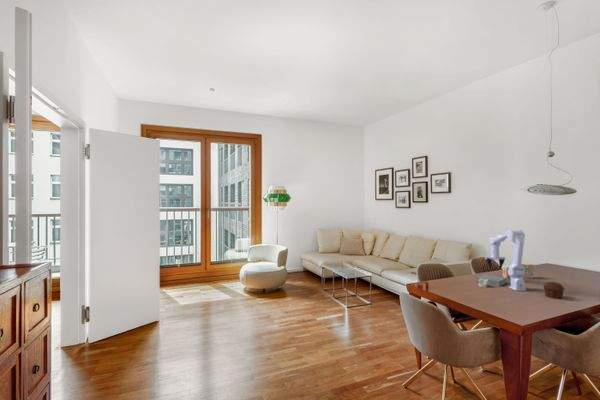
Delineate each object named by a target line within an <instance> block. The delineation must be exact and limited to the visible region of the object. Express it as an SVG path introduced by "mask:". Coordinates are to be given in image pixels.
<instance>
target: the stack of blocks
mask: <svg viewBox="0 0 600 400" xmlns="http://www.w3.org/2000/svg"><path fill="white" fill-rule="evenodd" d="M521 265H522V266H524V267H525V275H524V276H523V277H522V279H526V278H531V279H534V264H532V263H529V262H522V263H521ZM509 266H510V265H502V273H501V274H502V277H504V278H507V279H511V276H510V275H509V274H508V269H509ZM531 279H530V280H531Z"/></svg>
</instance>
